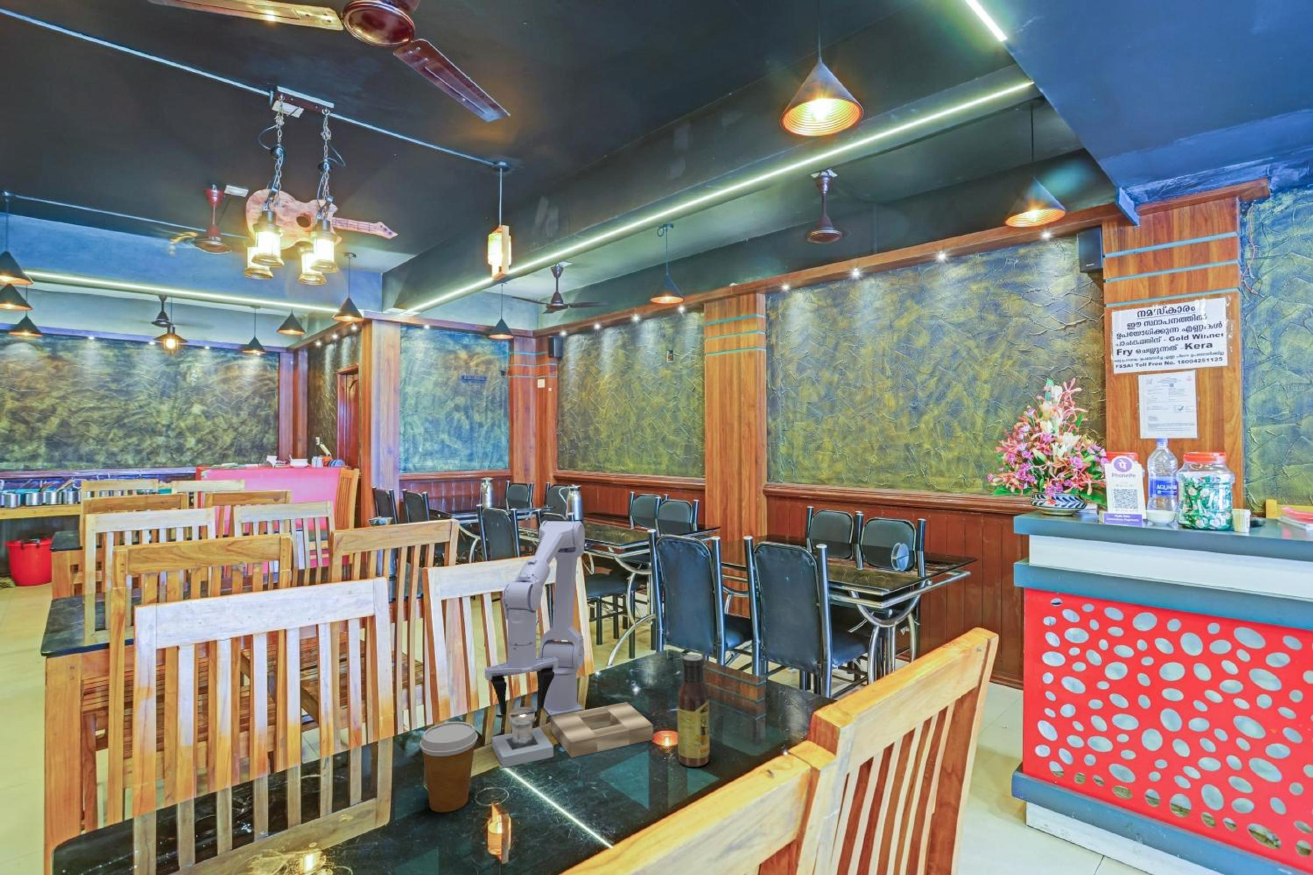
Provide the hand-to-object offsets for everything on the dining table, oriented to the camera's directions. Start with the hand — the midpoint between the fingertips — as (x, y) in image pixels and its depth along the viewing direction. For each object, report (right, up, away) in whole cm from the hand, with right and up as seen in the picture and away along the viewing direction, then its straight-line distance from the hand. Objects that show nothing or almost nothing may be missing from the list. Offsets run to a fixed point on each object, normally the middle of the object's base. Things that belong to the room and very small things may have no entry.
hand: (522, 709), depth 128 cm
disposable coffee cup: (-9, -8, -19) cm, 22 cm away
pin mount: (0, -8, 0) cm, 8 cm away
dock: (+15, -9, +7) cm, 19 cm away
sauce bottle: (+34, -8, -5) cm, 36 cm away
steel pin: (0, -8, 0) cm, 8 cm away
